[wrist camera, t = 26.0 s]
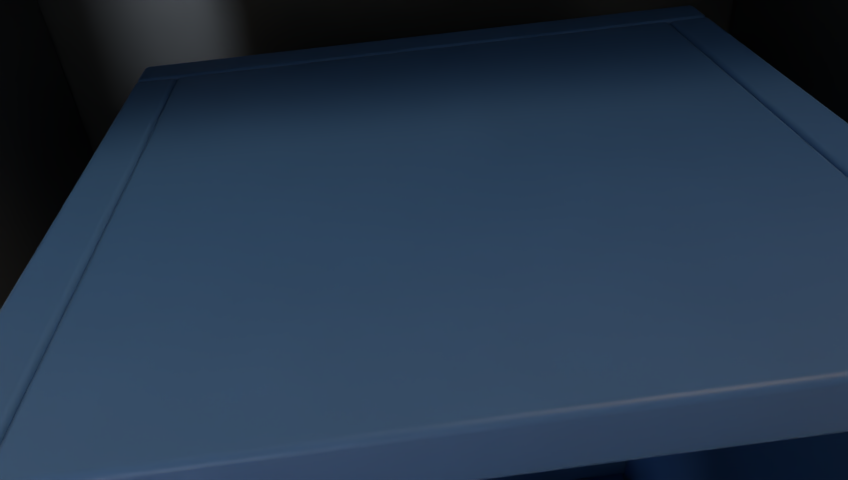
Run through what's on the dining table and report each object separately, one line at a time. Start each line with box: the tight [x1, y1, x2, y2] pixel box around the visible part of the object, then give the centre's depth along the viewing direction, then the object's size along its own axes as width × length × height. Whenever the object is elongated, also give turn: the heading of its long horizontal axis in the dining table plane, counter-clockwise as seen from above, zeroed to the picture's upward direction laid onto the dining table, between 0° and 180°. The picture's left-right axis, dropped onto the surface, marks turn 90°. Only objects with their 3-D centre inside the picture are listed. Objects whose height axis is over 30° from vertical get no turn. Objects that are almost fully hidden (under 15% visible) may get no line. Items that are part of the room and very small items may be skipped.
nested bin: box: [0, 5, 848, 480], centre depth 9 cm, size 9×7×6 cm
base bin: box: [0, 0, 848, 309], centre depth 12 cm, size 16×12×5 cm
